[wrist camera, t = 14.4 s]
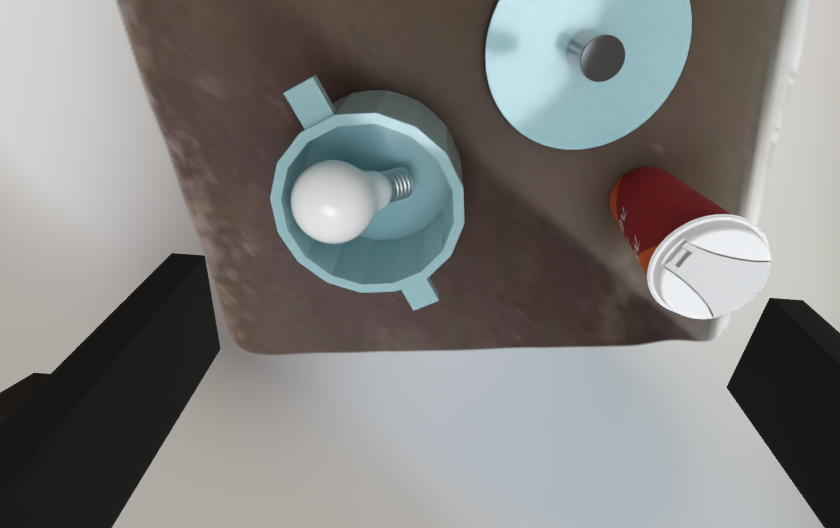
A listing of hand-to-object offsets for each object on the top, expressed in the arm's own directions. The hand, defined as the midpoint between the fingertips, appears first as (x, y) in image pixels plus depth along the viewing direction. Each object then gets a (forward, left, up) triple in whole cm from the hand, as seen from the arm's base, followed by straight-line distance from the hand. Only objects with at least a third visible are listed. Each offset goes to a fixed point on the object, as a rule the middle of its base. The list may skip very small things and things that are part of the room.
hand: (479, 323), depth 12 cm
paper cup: (-11, +16, -33) cm, 38 cm away
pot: (+9, +4, -33) cm, 34 cm away
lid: (-10, +2, -32) cm, 34 cm away
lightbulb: (+7, +5, -31) cm, 33 cm away
